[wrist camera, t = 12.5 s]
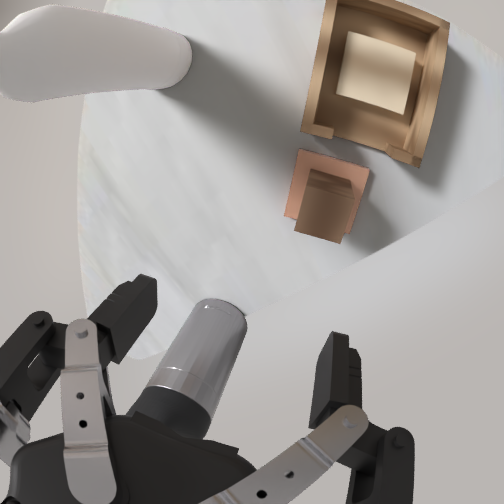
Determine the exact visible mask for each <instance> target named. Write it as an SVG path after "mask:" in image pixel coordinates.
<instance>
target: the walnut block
mask: <svg viewBox="0 0 504 504" xmlns="http://www.w3.org/2000/svg"><path fill="white" fill-rule="evenodd" d="M354 202H355V197H354V193H353V189H352V185H351V181H350V180H349V179H345V178H342V177H339V176H335V175H332V174H329V173H325V172H322V171H318V170H314V169H310V173H309V176H308V180H307V184H306V188H305V191H304V195H303V199H302V203H301V207H300V211H299V214H298V218H297V222H296V226H295V229H294V231H297V232H300V233H304V234H307V235H311V236H314V237H318V238H321V239H325V240H328V241H332V242H335V243H339V244H340V243H341V240H342V238H343V235H344V232H345V229H346V226H347V223H348V220H349V217H350V214H351V211H352V208H353V205H354Z"/></svg>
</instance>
